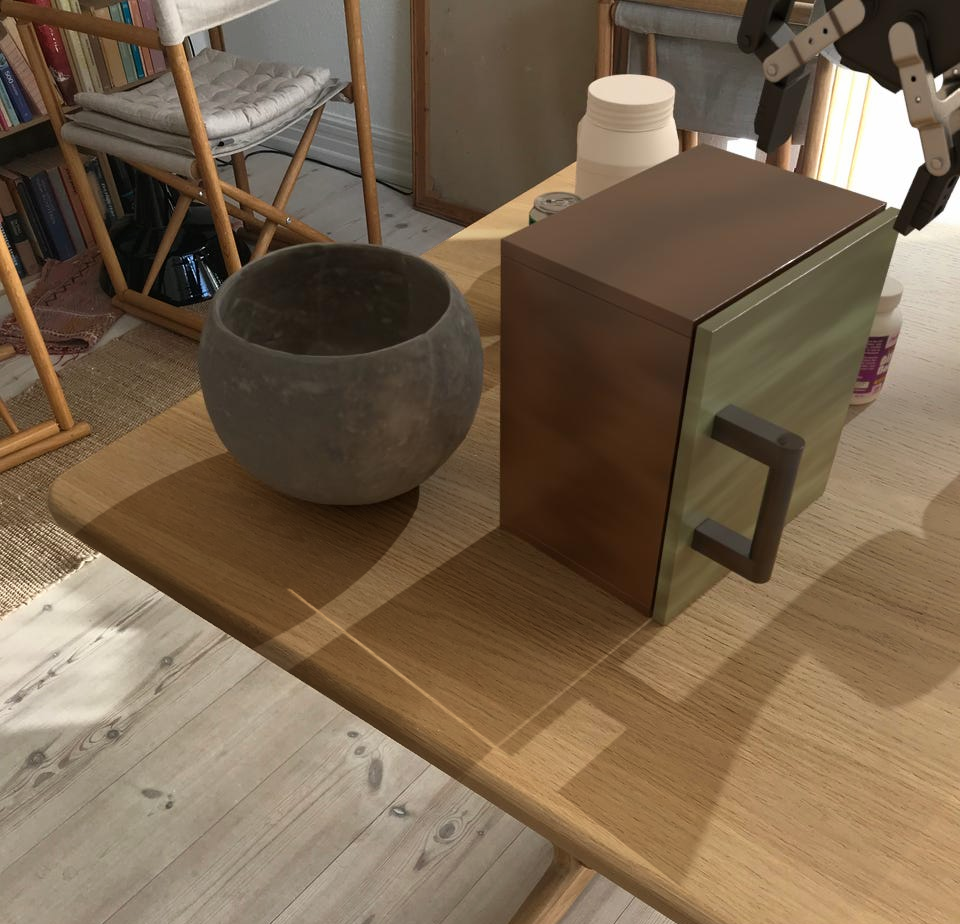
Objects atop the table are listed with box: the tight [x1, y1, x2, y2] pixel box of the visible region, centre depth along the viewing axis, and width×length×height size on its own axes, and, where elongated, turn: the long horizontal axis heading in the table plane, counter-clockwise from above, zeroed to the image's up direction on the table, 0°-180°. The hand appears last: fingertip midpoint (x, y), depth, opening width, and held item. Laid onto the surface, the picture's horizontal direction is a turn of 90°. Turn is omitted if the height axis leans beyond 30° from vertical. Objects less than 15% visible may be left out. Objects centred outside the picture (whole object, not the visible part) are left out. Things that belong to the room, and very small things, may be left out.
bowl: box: [197, 241, 485, 506], centre depth 77 cm, size 20×20×15 cm
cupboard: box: [499, 142, 888, 618], centre depth 71 cm, size 14×20×22 cm
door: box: [651, 206, 901, 627], centre depth 65 cm, size 6×20×22 cm, turn 135°
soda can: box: [528, 191, 583, 226], centre depth 92 cm, size 5×5×12 cm
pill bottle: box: [849, 275, 905, 406], centre depth 86 cm, size 5×5×10 cm
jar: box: [574, 73, 680, 200], centre depth 104 cm, size 12×10×15 cm
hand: (838, 184), depth 53 cm, fingers open, 8 cm apart
